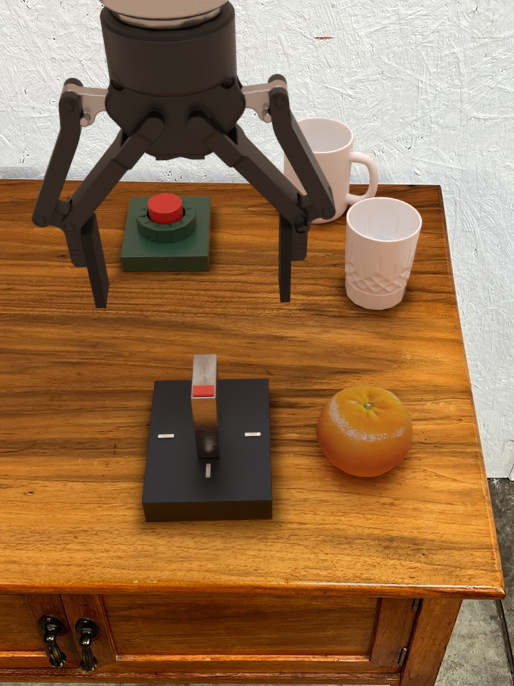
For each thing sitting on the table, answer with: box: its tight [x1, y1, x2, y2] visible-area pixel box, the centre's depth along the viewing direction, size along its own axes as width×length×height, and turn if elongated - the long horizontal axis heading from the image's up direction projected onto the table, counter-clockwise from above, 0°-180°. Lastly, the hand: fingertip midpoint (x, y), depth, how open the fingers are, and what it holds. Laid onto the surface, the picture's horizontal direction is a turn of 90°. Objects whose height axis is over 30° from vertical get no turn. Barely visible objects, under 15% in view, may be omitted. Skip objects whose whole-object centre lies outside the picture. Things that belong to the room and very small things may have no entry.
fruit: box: [315, 384, 414, 478], centre depth 70 cm, size 8×8×8 cm
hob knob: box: [191, 353, 221, 458], centre depth 67 cm, size 5×2×8 cm, turn 2°
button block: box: [119, 195, 212, 273], centre depth 93 cm, size 12×10×4 cm
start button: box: [148, 192, 183, 224], centre depth 91 cm, size 4×4×2 cm
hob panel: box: [141, 378, 274, 523], centre depth 71 cm, size 14×11×3 cm
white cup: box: [344, 196, 423, 311], centre depth 85 cm, size 8×8×10 cm
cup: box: [283, 116, 379, 225], centre depth 96 cm, size 8×12×10 cm
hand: (194, 293), depth 58 cm, fingers open, 13 cm apart
